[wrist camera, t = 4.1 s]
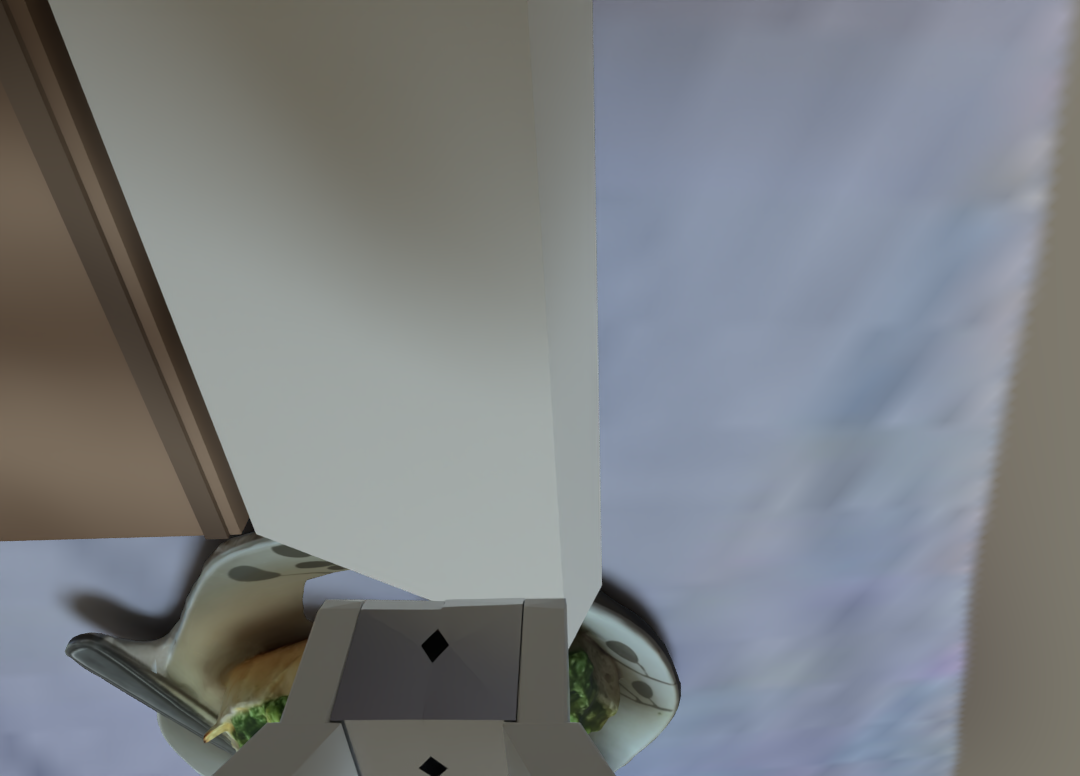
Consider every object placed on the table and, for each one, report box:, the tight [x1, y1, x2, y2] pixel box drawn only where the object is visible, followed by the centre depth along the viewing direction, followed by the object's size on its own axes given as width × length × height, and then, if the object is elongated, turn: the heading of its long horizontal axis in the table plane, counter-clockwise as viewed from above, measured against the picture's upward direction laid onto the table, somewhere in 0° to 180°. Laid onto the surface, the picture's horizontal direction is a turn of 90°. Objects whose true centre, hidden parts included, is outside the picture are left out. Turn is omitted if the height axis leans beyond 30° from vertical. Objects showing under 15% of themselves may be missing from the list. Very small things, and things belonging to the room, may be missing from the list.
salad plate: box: [65, 532, 681, 776], centre depth 25 cm, size 19×18×5 cm
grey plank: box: [48, 0, 602, 649], centre depth 15 cm, size 14×9×2 cm, turn 3°
